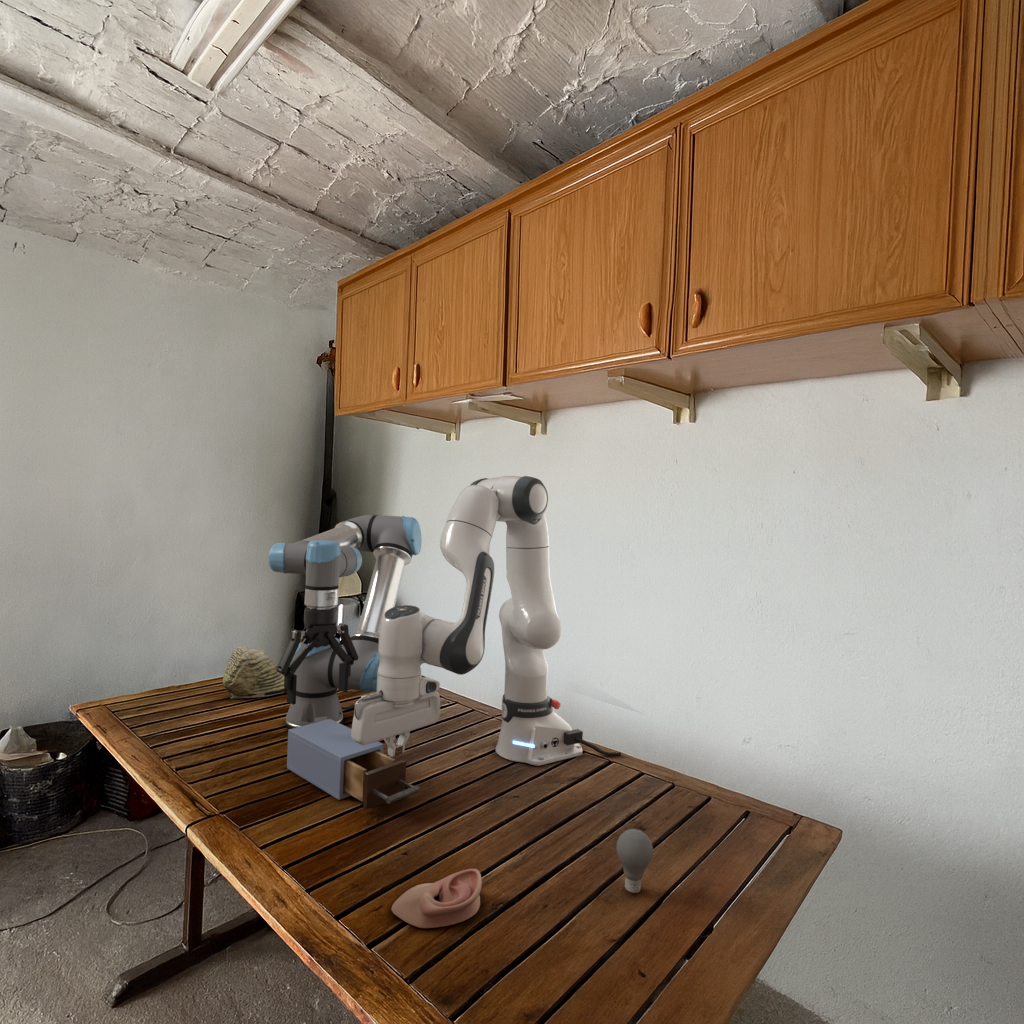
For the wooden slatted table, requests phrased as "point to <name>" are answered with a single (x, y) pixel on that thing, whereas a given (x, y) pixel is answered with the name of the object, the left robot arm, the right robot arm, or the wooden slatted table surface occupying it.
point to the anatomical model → (441, 901)
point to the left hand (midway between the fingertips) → (317, 696)
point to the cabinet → (324, 754)
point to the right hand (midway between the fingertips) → (396, 754)
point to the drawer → (376, 779)
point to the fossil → (252, 674)
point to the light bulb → (634, 857)
